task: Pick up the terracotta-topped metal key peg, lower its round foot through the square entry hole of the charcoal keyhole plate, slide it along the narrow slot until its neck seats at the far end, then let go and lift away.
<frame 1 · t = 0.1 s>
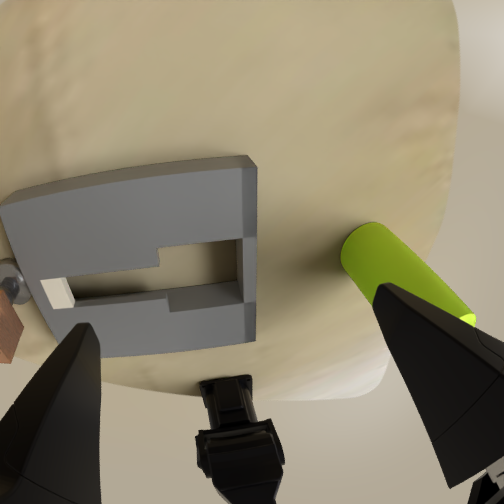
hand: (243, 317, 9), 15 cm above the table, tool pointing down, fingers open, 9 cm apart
keyhole plate: (128, 264, 23), on the table
key peg: (15, 278, 21), on the table
soap dispenser: (368, 243, 28), on the table
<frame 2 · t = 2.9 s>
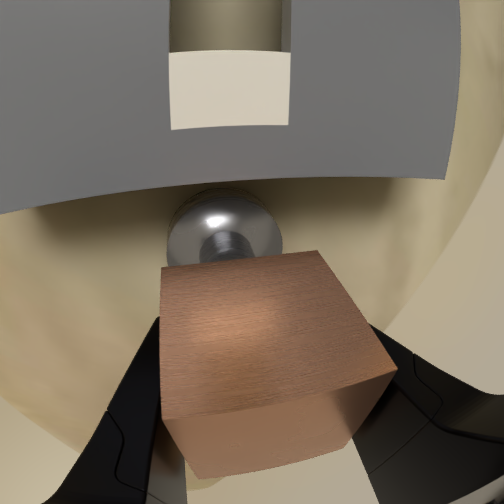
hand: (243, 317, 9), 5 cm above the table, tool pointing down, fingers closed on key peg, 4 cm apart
key peg: (221, 239, 12), on the table, touching gripper
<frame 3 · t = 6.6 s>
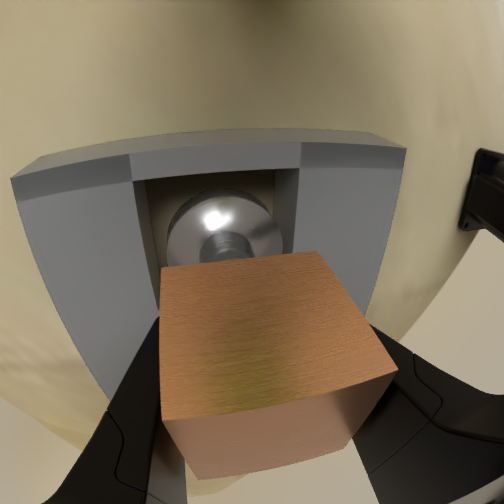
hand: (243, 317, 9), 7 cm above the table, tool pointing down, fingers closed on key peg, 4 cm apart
keyhole plate: (219, 307, 17), on the table
key peg: (221, 239, 12), point 2 cm above the table, touching gripper
when the fingers open (5 cm above the table, at t = 10.5 s): key peg stays where it is, resting in keyhole plate.
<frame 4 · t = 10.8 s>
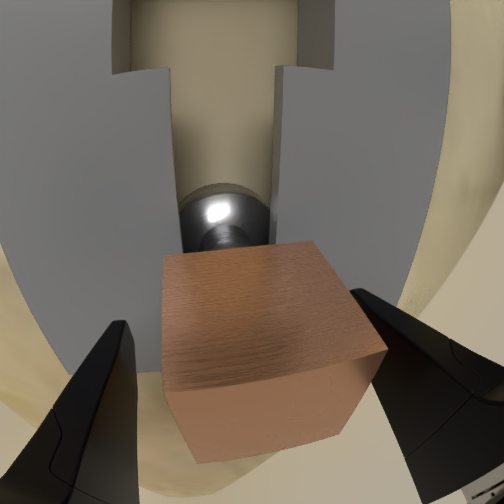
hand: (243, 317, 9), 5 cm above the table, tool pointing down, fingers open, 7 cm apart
keyhole plate: (216, 147, 11), on the table
key peg: (221, 232, 13), resting in keyhole plate
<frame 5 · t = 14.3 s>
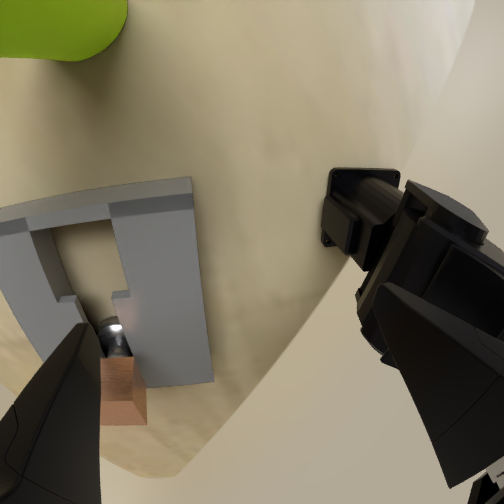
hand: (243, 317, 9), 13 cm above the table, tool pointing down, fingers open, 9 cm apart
keyhole plate: (109, 304, 23), on the table
key peg: (121, 333, 25), resting in keyhole plate
soap dispenser: (77, 18, 11), on the table
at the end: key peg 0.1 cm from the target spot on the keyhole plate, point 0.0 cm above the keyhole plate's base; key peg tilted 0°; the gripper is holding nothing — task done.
